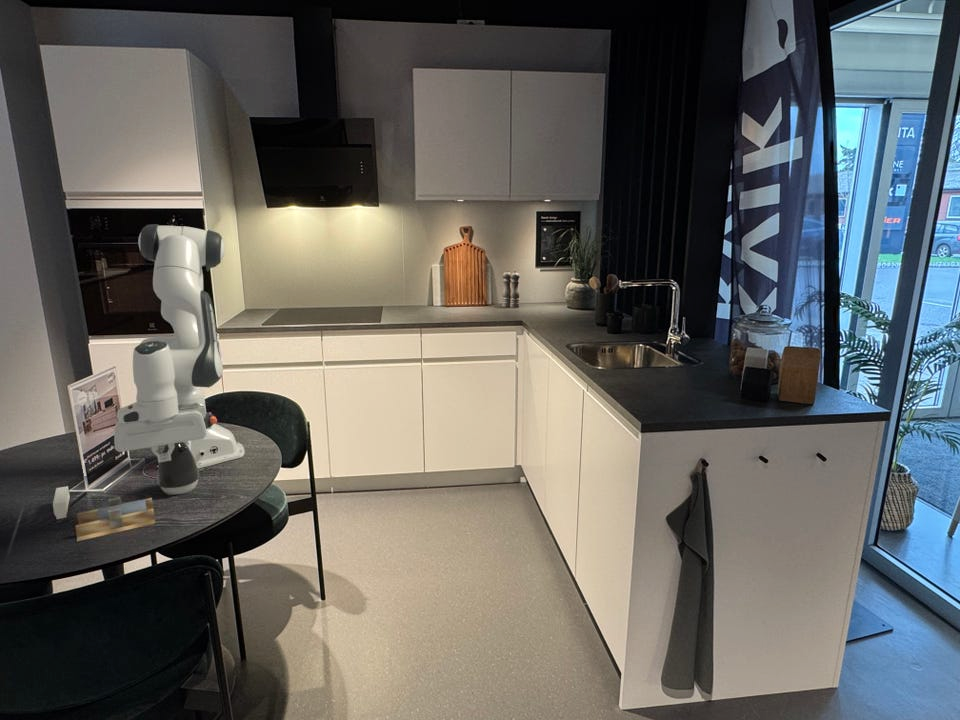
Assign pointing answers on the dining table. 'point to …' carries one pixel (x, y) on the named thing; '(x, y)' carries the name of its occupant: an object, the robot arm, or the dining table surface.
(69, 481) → the dining table surface
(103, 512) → the light blue block
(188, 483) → the dark grey egg shape
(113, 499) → the brown low boxy piece
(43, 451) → the dining table surface
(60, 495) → the tie bar
